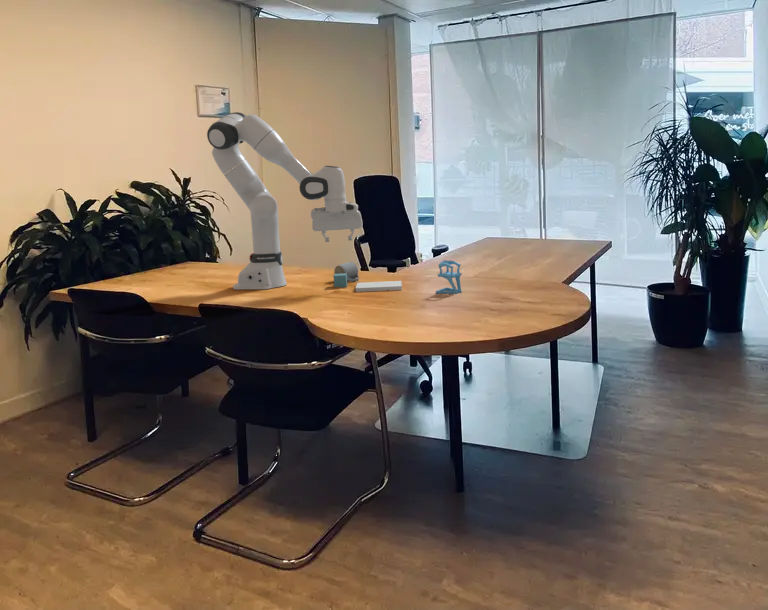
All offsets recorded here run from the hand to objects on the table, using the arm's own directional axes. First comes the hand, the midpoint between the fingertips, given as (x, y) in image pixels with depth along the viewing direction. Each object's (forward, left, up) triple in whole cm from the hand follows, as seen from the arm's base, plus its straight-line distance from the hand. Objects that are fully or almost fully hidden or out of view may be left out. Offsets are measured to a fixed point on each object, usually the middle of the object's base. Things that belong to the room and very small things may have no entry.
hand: (338, 241), depth 263 cm
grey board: (+16, -8, -19) cm, 26 cm away
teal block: (0, 0, -19) cm, 19 cm away
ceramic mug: (+2, +13, -19) cm, 23 cm away
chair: (+43, -23, -19) cm, 52 cm away
